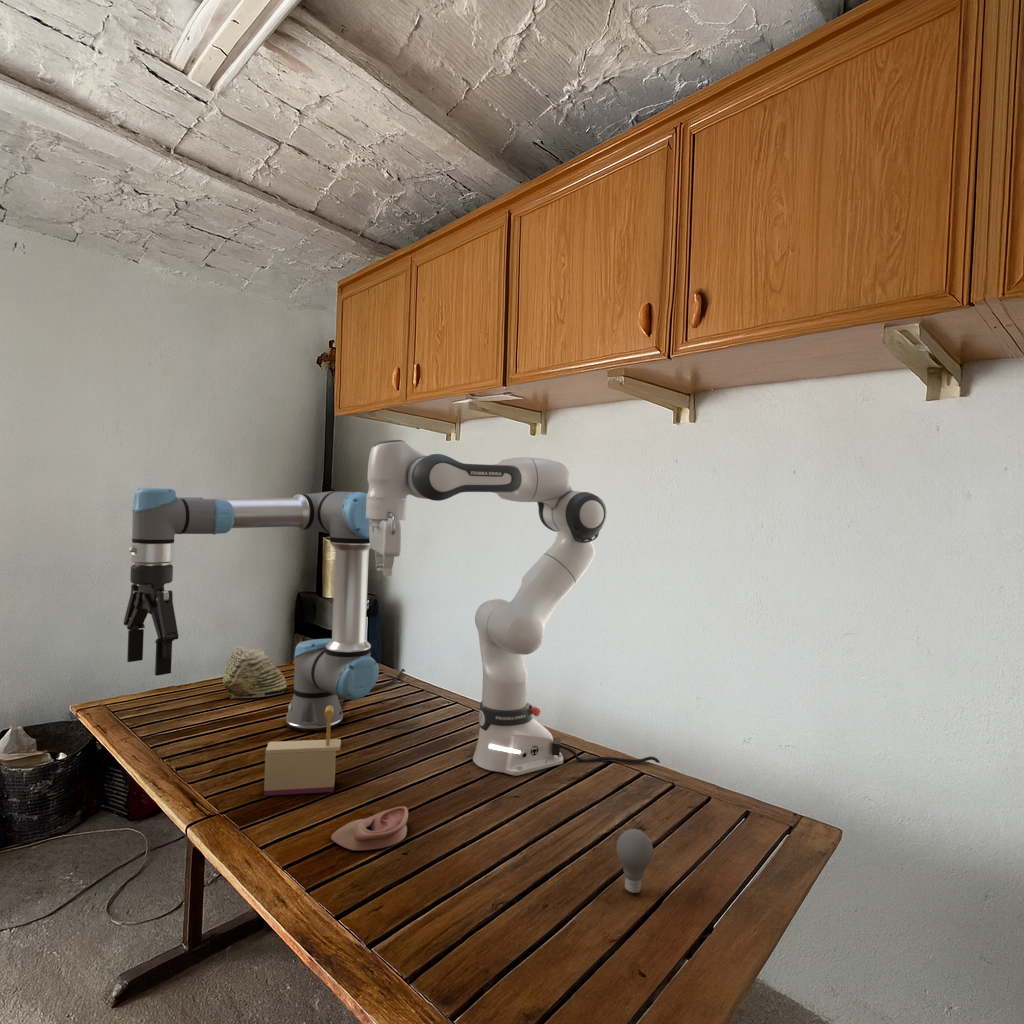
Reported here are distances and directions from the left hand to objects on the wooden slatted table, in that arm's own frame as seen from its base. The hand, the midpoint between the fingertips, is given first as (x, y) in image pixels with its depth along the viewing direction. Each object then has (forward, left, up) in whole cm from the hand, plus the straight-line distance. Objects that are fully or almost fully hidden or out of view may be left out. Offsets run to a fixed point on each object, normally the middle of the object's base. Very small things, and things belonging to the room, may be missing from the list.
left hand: (148, 667), depth 129 cm
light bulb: (-41, +90, -27) cm, 102 cm away
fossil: (-50, -47, -27) cm, 74 cm away
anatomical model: (-22, +45, -27) cm, 57 cm away
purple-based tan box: (-24, +19, -27) cm, 41 cm away
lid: (-25, +19, -18) cm, 36 cm away
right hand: (-39, +26, +20) cm, 51 cm away
